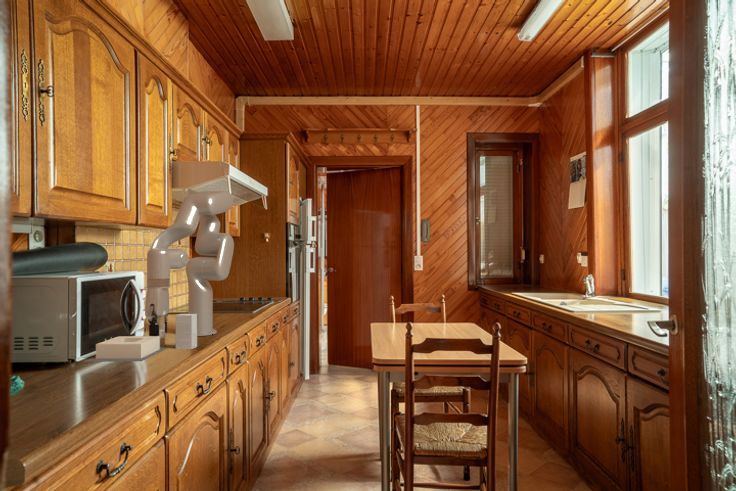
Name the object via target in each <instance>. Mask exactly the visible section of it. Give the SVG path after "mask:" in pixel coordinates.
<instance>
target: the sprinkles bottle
mask: <svg viewBox="0 0 736 491" xmlns="http://www.w3.org/2000/svg"><path fill="white" fill-rule="evenodd" d="M153 316H157V315H153ZM155 321H156V318H155ZM158 325H159V336H160V348H165V346H166V342H165V341H166V333H165V311H164V313H163V315H162V316H159V320H158Z"/></svg>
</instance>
